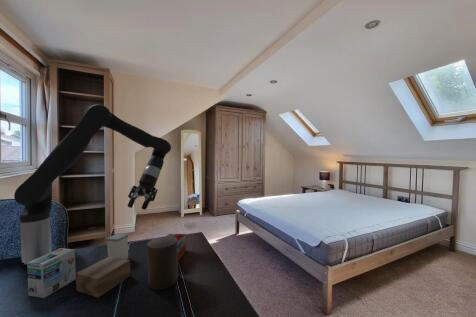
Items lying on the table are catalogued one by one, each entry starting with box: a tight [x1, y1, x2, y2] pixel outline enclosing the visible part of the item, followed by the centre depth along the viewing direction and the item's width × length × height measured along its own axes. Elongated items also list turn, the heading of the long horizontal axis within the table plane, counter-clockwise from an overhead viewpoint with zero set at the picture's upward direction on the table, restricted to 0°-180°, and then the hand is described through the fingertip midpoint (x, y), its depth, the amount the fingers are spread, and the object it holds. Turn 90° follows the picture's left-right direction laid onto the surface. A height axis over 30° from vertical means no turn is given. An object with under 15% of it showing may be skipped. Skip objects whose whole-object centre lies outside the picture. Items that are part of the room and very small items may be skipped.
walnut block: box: [75, 256, 131, 299], centre depth 72 cm, size 10×12×6 cm
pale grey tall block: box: [106, 233, 129, 260], centre depth 87 cm, size 5×5×10 cm
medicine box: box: [165, 233, 187, 262], centre depth 88 cm, size 15×8×8 cm, turn 175°
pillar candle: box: [146, 236, 179, 291], centre depth 72 cm, size 10×10×15 cm
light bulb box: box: [26, 247, 77, 299], centre depth 70 cm, size 11×7×11 cm, turn 168°
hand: (136, 208), depth 96 cm, fingers open, 8 cm apart
